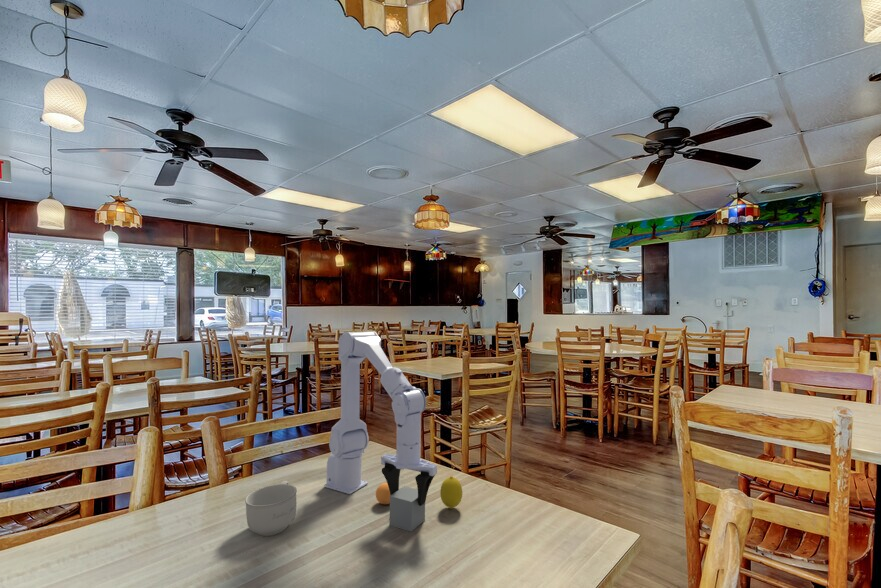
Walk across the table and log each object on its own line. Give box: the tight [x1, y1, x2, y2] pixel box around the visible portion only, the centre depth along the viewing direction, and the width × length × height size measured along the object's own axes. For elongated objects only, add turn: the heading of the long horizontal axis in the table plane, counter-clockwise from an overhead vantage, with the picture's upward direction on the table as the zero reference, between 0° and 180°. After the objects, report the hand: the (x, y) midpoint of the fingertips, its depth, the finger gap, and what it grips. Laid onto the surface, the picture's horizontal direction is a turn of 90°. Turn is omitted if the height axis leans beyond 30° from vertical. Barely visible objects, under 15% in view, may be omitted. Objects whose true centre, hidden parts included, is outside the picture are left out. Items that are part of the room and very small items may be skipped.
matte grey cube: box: [389, 485, 426, 532], centre depth 95 cm, size 6×6×7 cm
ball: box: [375, 482, 391, 505], centre depth 104 cm, size 5×5×5 cm
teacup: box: [244, 480, 298, 537], centre depth 94 cm, size 14×11×8 cm
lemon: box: [439, 475, 463, 510], centre depth 102 cm, size 6×6×8 cm
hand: (407, 500), depth 95 cm, fingers open, 7 cm apart
